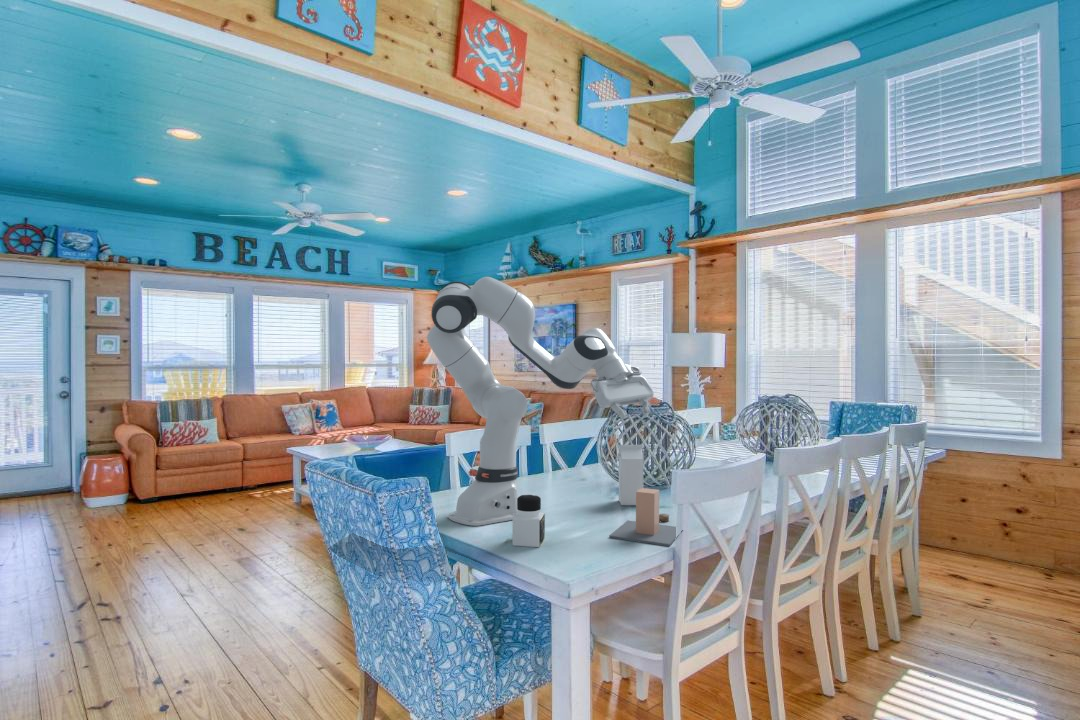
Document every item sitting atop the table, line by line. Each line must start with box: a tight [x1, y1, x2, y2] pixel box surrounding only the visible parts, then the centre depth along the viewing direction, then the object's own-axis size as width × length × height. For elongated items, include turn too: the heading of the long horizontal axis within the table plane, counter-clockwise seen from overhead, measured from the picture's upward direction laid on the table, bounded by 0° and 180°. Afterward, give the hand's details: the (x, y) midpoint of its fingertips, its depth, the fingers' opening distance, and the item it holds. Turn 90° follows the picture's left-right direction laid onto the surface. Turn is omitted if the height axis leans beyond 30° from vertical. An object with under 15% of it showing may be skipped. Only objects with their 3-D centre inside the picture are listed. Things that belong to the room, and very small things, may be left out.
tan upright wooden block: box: [635, 487, 660, 535], centre depth 159 cm, size 5×5×11 cm
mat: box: [608, 520, 677, 547], centre depth 159 cm, size 16×16×1 cm
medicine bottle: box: [512, 493, 546, 548], centre depth 151 cm, size 7×7×12 cm
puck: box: [659, 513, 670, 523], centre depth 172 cm, size 3×3×2 cm
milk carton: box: [618, 444, 645, 506], centre depth 193 cm, size 7×7×19 cm
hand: (636, 415), depth 169 cm, fingers open, 8 cm apart
